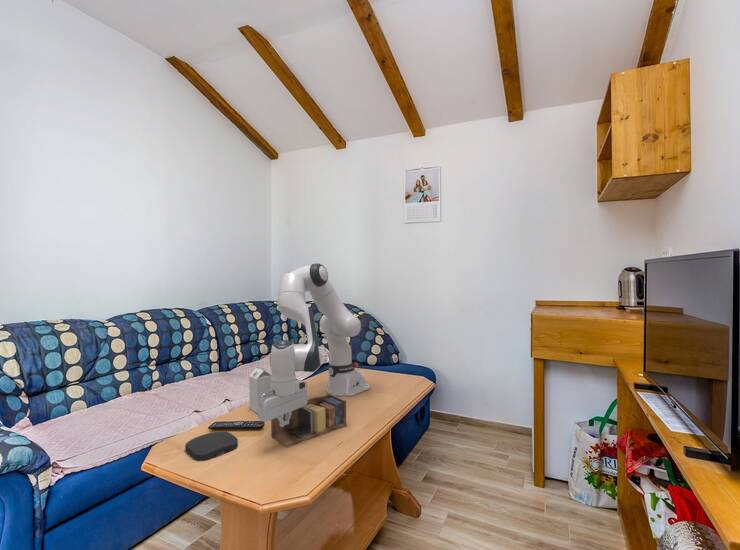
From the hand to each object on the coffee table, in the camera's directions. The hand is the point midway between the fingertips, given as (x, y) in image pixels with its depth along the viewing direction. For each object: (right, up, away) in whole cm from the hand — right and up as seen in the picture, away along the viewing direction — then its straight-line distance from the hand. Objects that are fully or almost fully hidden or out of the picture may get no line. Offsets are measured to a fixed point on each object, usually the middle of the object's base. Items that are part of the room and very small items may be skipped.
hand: (284, 425), depth 133 cm
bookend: (+5, -4, +4) cm, 8 cm away
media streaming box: (-24, -7, -4) cm, 25 cm away
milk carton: (-17, -6, +31) cm, 36 cm away
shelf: (+8, -5, +7) cm, 12 cm away
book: (+9, -4, +8) cm, 13 cm away
